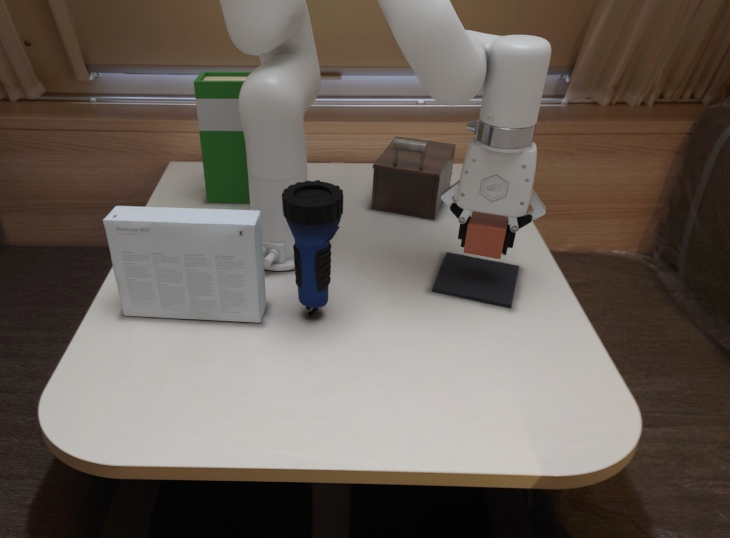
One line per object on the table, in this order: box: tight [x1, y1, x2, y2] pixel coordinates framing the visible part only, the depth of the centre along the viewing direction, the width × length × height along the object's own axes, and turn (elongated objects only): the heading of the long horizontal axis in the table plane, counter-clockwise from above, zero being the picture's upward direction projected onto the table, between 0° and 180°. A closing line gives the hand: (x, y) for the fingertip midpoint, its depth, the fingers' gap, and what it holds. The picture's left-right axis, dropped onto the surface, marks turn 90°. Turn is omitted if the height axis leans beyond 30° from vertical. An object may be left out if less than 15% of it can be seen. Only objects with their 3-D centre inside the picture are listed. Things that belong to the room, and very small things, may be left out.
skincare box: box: [102, 205, 267, 324], centre depth 83 cm, size 21×5×16 cm, turn 84°
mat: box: [431, 251, 520, 309], centre depth 93 cm, size 12×12×1 cm
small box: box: [462, 211, 509, 260], centre depth 88 cm, size 6×6×5 cm
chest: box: [370, 148, 456, 220], centre depth 116 cm, size 16×13×9 cm
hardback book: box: [193, 70, 252, 204], centre depth 113 cm, size 18×7×24 cm, turn 87°
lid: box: [372, 136, 457, 178], centre depth 112 cm, size 16×13×6 cm
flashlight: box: [282, 179, 344, 318], centre depth 80 cm, size 8×8×20 cm
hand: (484, 245), depth 90 cm, fingers closed on small box, 5 cm apart
